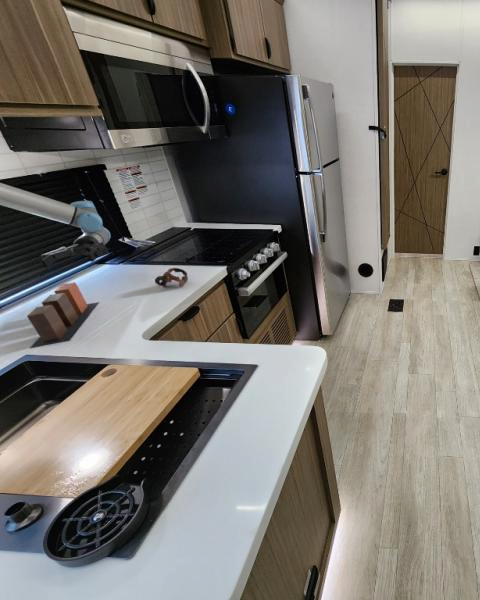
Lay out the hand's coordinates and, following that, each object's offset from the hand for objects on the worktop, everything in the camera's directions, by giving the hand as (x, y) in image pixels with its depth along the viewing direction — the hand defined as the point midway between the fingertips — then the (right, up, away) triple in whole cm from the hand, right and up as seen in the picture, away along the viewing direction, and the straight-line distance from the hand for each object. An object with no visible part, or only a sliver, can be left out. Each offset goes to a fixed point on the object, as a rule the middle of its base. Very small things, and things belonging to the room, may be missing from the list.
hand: (67, 261), depth 123 cm
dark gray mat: (+8, -23, -7) cm, 25 cm away
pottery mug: (+26, -9, +19) cm, 34 cm away
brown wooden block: (+8, -22, -7) cm, 25 cm away
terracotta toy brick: (+4, -18, 0) cm, 19 cm away
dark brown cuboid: (+11, -26, -15) cm, 32 cm away
